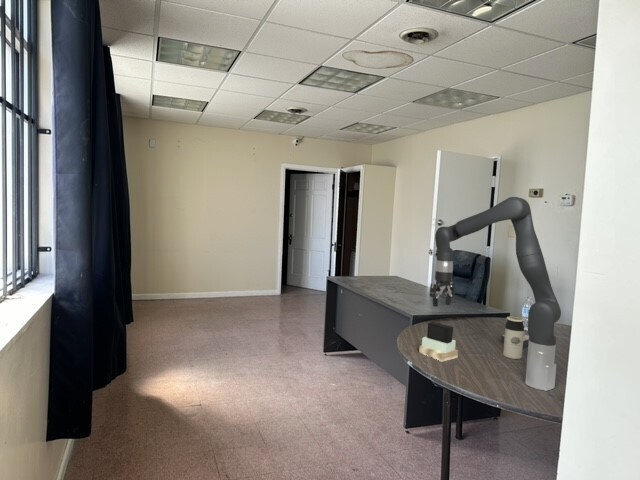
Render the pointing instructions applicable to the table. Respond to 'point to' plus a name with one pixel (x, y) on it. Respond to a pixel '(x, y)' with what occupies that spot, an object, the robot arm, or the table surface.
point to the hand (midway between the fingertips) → (441, 305)
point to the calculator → (525, 340)
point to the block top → (438, 345)
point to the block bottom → (438, 354)
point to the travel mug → (513, 338)
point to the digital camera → (440, 332)
